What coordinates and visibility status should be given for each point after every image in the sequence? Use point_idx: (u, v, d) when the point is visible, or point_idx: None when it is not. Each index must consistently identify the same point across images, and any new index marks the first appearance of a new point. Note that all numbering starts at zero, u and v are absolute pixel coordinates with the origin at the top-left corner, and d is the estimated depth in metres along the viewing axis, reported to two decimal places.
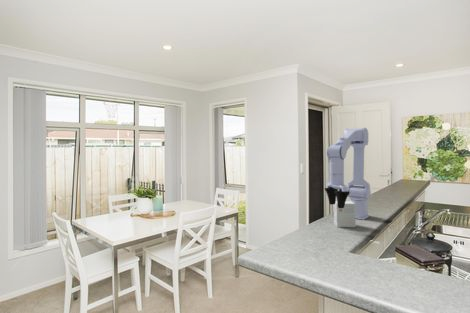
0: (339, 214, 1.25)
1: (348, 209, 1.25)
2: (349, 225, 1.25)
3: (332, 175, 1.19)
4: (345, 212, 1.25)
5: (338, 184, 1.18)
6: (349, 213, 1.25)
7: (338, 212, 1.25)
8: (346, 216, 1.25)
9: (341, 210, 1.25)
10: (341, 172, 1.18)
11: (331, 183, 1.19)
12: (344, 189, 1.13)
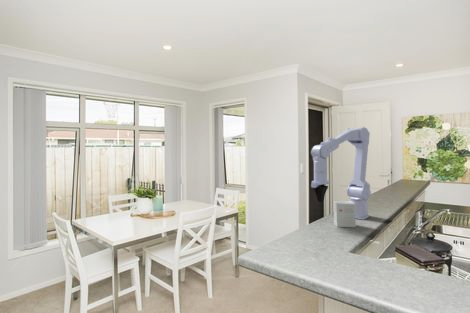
0: (339, 214, 1.25)
1: (348, 209, 1.25)
2: (349, 225, 1.25)
3: None
4: (345, 212, 1.25)
5: (316, 181, 1.28)
6: (349, 213, 1.25)
7: (338, 212, 1.25)
8: (346, 216, 1.25)
9: (341, 210, 1.25)
10: (322, 170, 1.26)
11: None
12: (312, 185, 1.24)
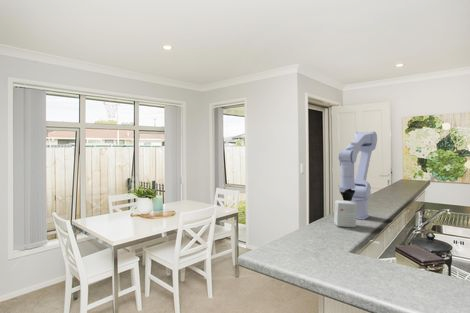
0: (340, 213, 1.25)
1: (349, 209, 1.24)
2: (349, 225, 1.25)
3: (341, 177, 1.32)
4: (346, 212, 1.25)
5: (343, 185, 1.30)
6: (350, 213, 1.25)
7: (339, 211, 1.25)
8: (347, 216, 1.25)
9: (342, 209, 1.25)
10: (352, 175, 1.29)
11: None
12: (340, 190, 1.26)
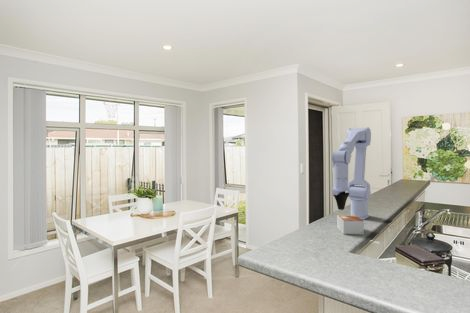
0: None
1: None
2: None
3: (334, 179, 1.25)
4: None
5: (337, 188, 1.23)
6: None
7: None
8: None
9: None
10: (346, 176, 1.22)
11: (334, 186, 1.25)
12: (333, 192, 1.19)
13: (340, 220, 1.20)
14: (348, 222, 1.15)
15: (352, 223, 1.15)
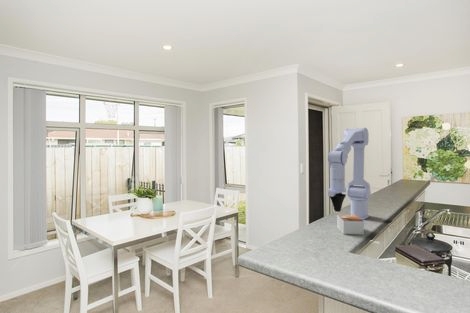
0: None
1: None
2: None
3: (330, 180, 1.22)
4: None
5: (333, 189, 1.20)
6: None
7: None
8: None
9: None
10: (342, 177, 1.19)
11: (330, 187, 1.22)
12: (329, 194, 1.16)
13: (340, 220, 1.20)
14: (348, 222, 1.15)
15: (352, 223, 1.15)
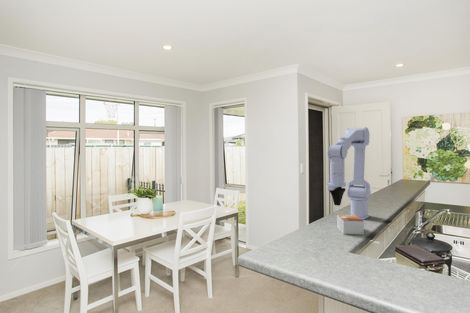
0: None
1: None
2: None
3: (330, 174, 1.22)
4: None
5: (333, 183, 1.20)
6: None
7: None
8: None
9: None
10: (342, 171, 1.19)
11: (330, 182, 1.23)
12: (329, 188, 1.17)
13: (340, 220, 1.20)
14: (348, 222, 1.15)
15: (352, 223, 1.15)
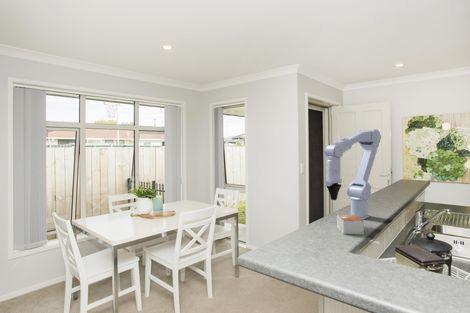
0: None
1: None
2: None
3: (327, 171, 1.34)
4: None
5: (330, 179, 1.32)
6: None
7: None
8: None
9: None
10: (336, 169, 1.30)
11: (327, 178, 1.34)
12: (326, 184, 1.28)
13: (340, 220, 1.20)
14: (348, 222, 1.15)
15: (352, 223, 1.15)
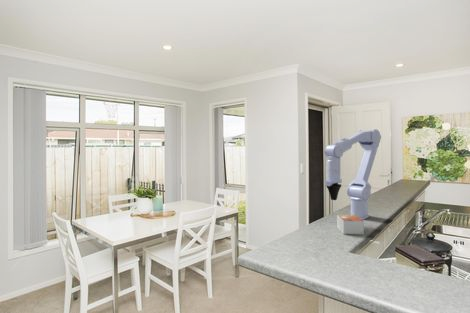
0: None
1: None
2: None
3: (327, 171, 1.34)
4: None
5: (330, 179, 1.32)
6: None
7: None
8: None
9: None
10: (336, 169, 1.30)
11: (327, 178, 1.34)
12: (326, 184, 1.28)
13: (340, 220, 1.20)
14: (348, 222, 1.15)
15: (352, 223, 1.15)
